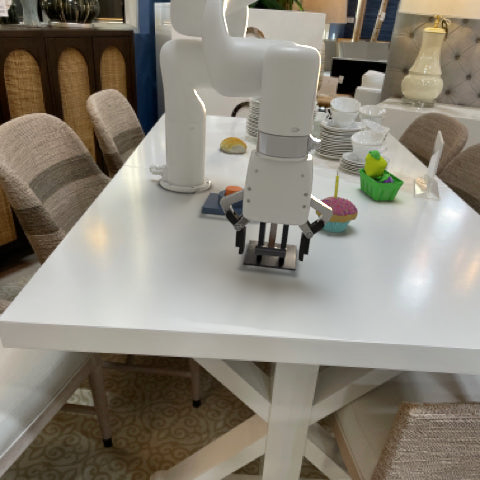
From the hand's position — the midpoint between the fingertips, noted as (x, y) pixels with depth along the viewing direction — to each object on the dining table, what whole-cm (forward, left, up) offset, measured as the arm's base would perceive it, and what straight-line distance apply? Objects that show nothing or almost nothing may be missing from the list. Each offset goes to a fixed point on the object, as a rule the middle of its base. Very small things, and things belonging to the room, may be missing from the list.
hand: (271, 254), depth 76 cm
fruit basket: (+24, +53, -5) cm, 59 cm away
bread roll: (-17, +84, -5) cm, 86 cm away
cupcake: (+12, +25, -5) cm, 28 cm away
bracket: (0, +8, -5) cm, 10 cm away
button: (-10, +30, -1) cm, 32 cm away
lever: (0, +5, +2) cm, 5 cm away
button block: (-10, +30, -5) cm, 32 cm away
